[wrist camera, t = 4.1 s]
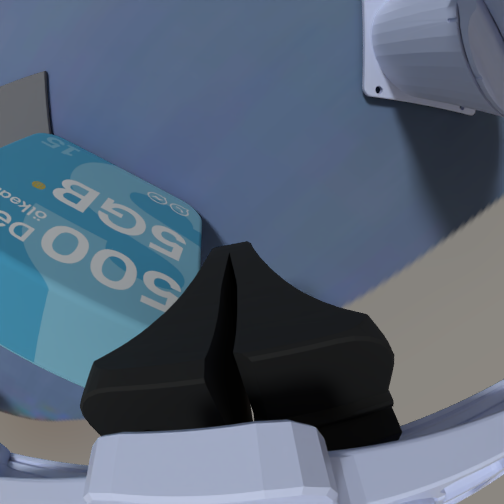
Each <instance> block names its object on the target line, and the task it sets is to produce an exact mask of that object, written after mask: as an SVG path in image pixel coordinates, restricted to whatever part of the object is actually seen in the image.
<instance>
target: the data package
mask: <svg viewBox="0 0 504 504" xmlns="http://www.w3.org/2000/svg"><path fill="white" fill-rule="evenodd" d="M201 235H202V220H201V217H200V216H199V214H198V213H197V212H196V211H195V210H194V209H193V208H192V207H191V206H190V205H188V204H187V203H185V202H184V201H182V200H180V199H178V198H176V197H174V196H173V195H171V194H169V193H167V192H165V191H163V190H161V189H159V188H157V187H155V186H154V185H152V184H150V183H148V182H146V181H144V180H142V179H140V178H138V177H136V176H135V175H133V174H131V173H129V172H127V171H125V170H123V169H121V168H119V167H117V166H115V165H113V164H112V163H110V162H108V161H106V160H104V159H102V158H100V157H98V156H96V155H94V154H92V153H90V152H88V151H86V150H85V149H83V148H81V147H79V146H77V145H75V144H73V143H71V142H69V141H67V140H65V139H63V138H61V137H58V136H56V135H52V134H47V133H36V134H33V135H31V136H28V137H25V138H23V139H20V140H18V141H15V142H13V143H11V144H8V145H6V146H3V147H1V148H0V345H1V346H2V347H4V348H6V349H8V350H9V351H11V352H13V353H15V354H17V355H18V356H20V357H22V358H24V359H26V360H28V361H30V362H31V363H33V364H35V365H37V366H39V367H41V368H43V369H45V370H47V371H49V372H51V373H53V374H56V375H58V376H60V377H62V378H64V379H66V380H68V381H71V382H73V383H75V384H77V385H80V386H82V387H84V388H85V385H86V382H87V379H88V376H89V373H90V370H91V367H92V365H93V362H94V361H95V360H97V359H99V358H101V357H103V356H105V355H106V354H108V353H110V352H112V351H113V350H115V349H117V348H119V347H120V346H122V345H124V344H125V343H127V342H128V341H130V340H131V339H133V338H134V337H136V336H137V335H138V334H140V333H141V332H142V331H144V330H145V329H146V328H148V327H149V326H150V325H151V324H152V323H153V322H154V321H156V320H157V319H158V318H159V317H160V316H161V315H163V314H164V313H165V312H166V311H167V310H168V309H169V308H170V307H171V306H172V305H173V304H174V303H175V302H176V301H177V299H178V298H179V297H180V296H181V295H182V294H183V292H184V291H185V290H186V288H187V287H188V286H189V285H190V283H191V282H192V281H193V279H194V278H195V276H196V275H197V273H198V272H199V270H200V260H201Z"/></svg>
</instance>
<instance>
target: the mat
mask: <svg viewBox="0 0 504 504" xmlns="http://www.w3.org/2000/svg"><path fill="white" fill-rule="evenodd" d="M36 133H47V134H51V126H50V117H49V106H48V93H47V76H46V71H43V72H40V73H37V74H34V75H31V76H28V77H25V78H22V79H19V80H17V81H14V82H11V83H9V84H6V85H3V86H1V87H0V148H1V147H3V146H6V145H8V144H11V143H13V142H15V141H18V140H20V139H23V138H25V137H28V136H31V135H33V134H36Z"/></svg>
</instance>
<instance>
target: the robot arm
mask: <svg viewBox="0 0 504 504" xmlns="http://www.w3.org/2000/svg"><path fill="white" fill-rule="evenodd" d="M362 18H363V81H362V89H363V92H364V94H365V95H366V96H369V97H377V98H384V99H391V100H398V101H404V102H410V103H416V104H421V105H426V106H431V107H436V108H441V109H446V110H450V111H454V112H459V113H463V114H467V115H474V113H475V111H476V110H478V111H482V112H486V113H490V114H494V115H497V116H501V117H504V0H362ZM377 86H378V87H379V88H380V92H379V93H378V94H377V93H376V91H375V89H376V87H377ZM460 106H461V109H460ZM393 367H394V354H393V351H392V350H391V347H390V345H389V343H388V341H387V340H386V338H385V336H384V335H383V333H382V332H381V331H380V330H379V328H378V327H377V326H376V324H375V323H374V322H373V321H372V320H371V318H370V317H369V316H368V315H367V314H363V313H359V312H355V311H351V310H347V309H343V308H339V307H336V306H333V305H331V304H328V303H325V302H322V301H320V300H318V299H315V298H313V297H311V296H309V295H307V294H305V293H303V292H301V291H300V290H298V289H296V288H295V287H293V286H292V285H290V284H289V283H288V282H286V281H285V280H284V279H282V278H281V277H280V276H279V275H277V274H276V273H275V272H274V271H273V270H272V269H271V268H270V267H269V266H268V265H267V264H266V263H265V262H264V261H263V260H262V259H261V258H260V257H259V255H258V254H257V253H256V251H255V250H254V249H253V247H252V245H251V243H249V242H248V241H246V242H241V243H236V244H231V245H226V246H221V247H216V248H213V249H212V251H211V252H210V254H209V255H208V257H207V259H206V260H205V262H204V264H203V265H202V267H201V269H200V270H199V272H198V273H197V275H196V276H195V278H194V279H193V281H192V282H191V283H190V285H189V286H188V287H187V288H186V290H185V291H184V292H183V294H182V295H181V296H180V297H179V298H178V299H177V301H176V302H175V303H174V304H173V305H172V306H171V307H170V308H169V309H168V310H167V311H166V312H165V313H164V314H163V315H161V316H160V317H159V318H158V319H157V320H156V321H154V322H153V323H152V324H151V325H150V326H149V327H148V328H146V329H145V330H144V331H142V332H141V333H140V334H138V335H137V336H136V337H134V338H133V339H131V340H130V341H128V342H127V343H125V344H124V345H122V346H120V347H119V348H117V349H115V350H113V351H112V352H110V353H108V354H106V355H105V356H103V357H101V358H99V359H97V360H95V361H94V362H93V365H92V367H91V370H90V373H89V376H88V379H87V382H86V385H85V389H84V392H83V395H82V398H81V404H80V408H81V411H82V414H83V416H84V417H85V419H86V420H87V421H88V422H89V424H90V425H91V426H92V427H93V428H94V429H95V430H96V431H97V432H98V433H99V434H100V435H101V437H98V439H97V440H96V442H95V443H94V445H93V446H92V451H91V455H90V461H89V466H87V465H78V464H69V463H63V462H56V461H50V460H44V459H38V458H33V457H28V456H24V455H19V454H14V453H10V451H9V450H8V449H7V448H6V447H5V446H3V445H2V444H1V443H0V504H456V503H458V502H460V501H462V500H463V499H465V498H467V497H469V496H470V495H472V494H474V493H475V492H477V491H479V490H480V489H482V488H483V487H485V486H487V485H488V484H490V483H492V482H493V481H495V480H496V479H498V478H499V477H501V476H502V475H504V379H503V380H501V381H499V382H497V383H496V384H494V385H492V386H490V387H488V388H486V389H484V390H483V391H481V392H479V393H477V394H475V395H473V396H471V397H469V398H467V399H465V400H462V401H460V402H458V403H456V404H454V405H452V406H449V407H448V408H445V409H443V410H440V411H438V412H436V413H433V414H431V415H428V416H426V417H423V418H421V419H418V420H416V421H413V422H411V423H408V424H405V425H402V426H400V425H399V423H398V420H397V418H396V416H395V413H394V411H393V409H392V406H393V399H392V397H391V394H390V392H389V390H388V389H389V384H390V380H391V376H392V371H393ZM250 404H251V405H250ZM251 407H252V410H253V413H254V422H253V419H252V412H251Z"/></svg>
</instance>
